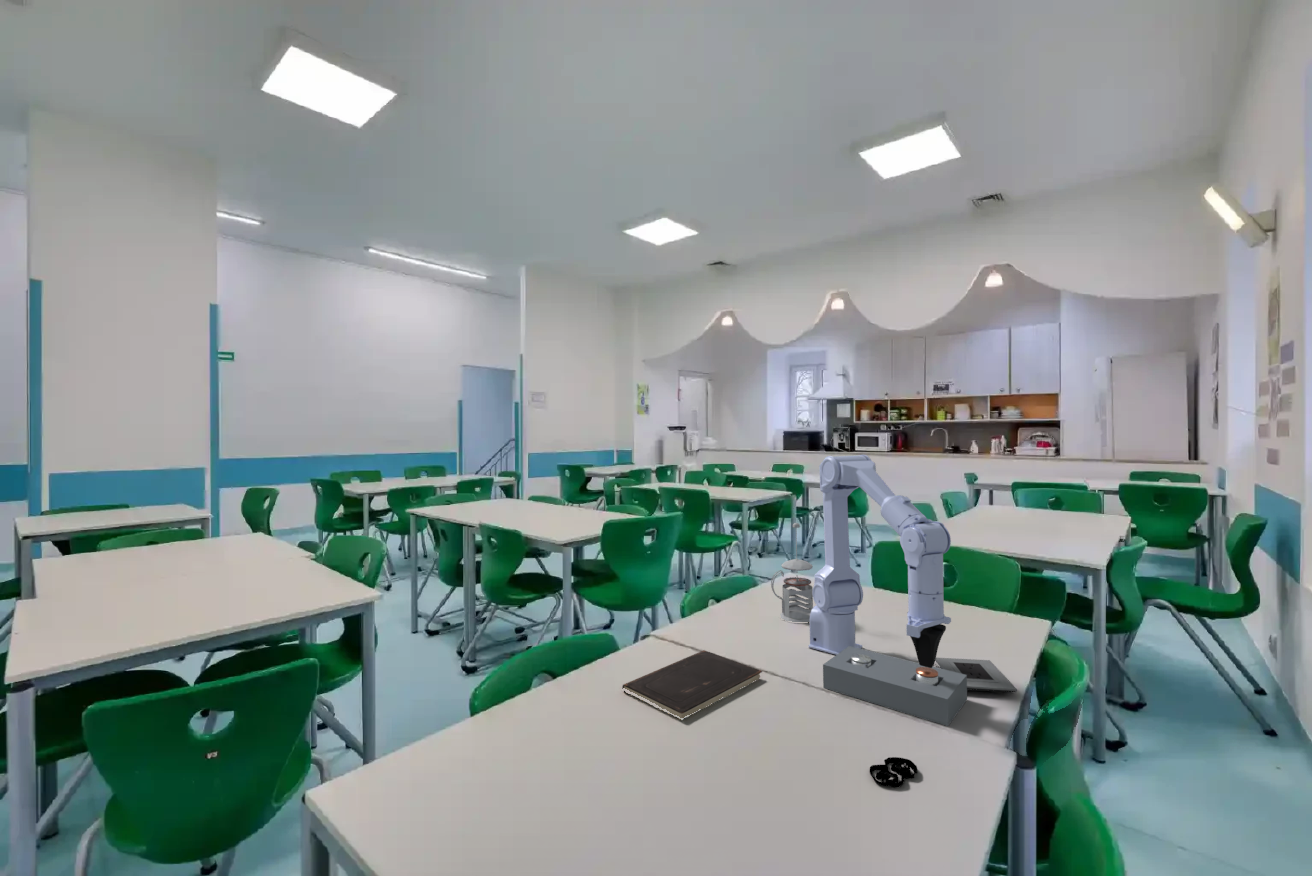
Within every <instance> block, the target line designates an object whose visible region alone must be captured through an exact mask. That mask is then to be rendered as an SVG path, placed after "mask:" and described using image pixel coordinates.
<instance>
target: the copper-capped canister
mask: <svg viewBox="0 0 1312 876" xmlns="http://www.w3.org/2000/svg"><path fill="white" fill-rule="evenodd" d="M916 681H918V682H922V683H926V684H929V685H933V686H937V685H938V672H937V671H936V670H935V669H932V668H928V667H918V668H916Z"/></svg>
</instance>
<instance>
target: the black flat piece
mask: <svg viewBox="0 0 1312 876" xmlns="http://www.w3.org/2000/svg"><path fill="white" fill-rule="evenodd" d="M883 761H884V764H873V765H871V766H870V767H869V774H870V776H871V778H872V779H873V780H874V781H875V783H876V784H877V785H879V786H881V787H882V786H883V787H891V788H901V787H902V785H903V784H904V783H905V780H906V779H907V780H909V779H911V780H912V779H914V778H915V775H916V774H918V766H917V764H915V763H914V762H913V761H912V760H911V759H908V758H904V757H897V756H895V757H894V756H892V757H887V758H885V759H884V760H883ZM888 765H890V768H889V766H888ZM911 770H912V771H911ZM873 772H875V776H874V774H873ZM912 772H913V773H912ZM899 776H900V777H901V778H900V777H899ZM892 777H893V778H892ZM891 778H892V779H891ZM899 778H900V781H899ZM880 780H881V781H880Z"/></svg>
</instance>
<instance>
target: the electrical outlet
mask: <svg viewBox="0 0 1312 876" xmlns="http://www.w3.org/2000/svg"><path fill="white" fill-rule="evenodd" d="M935 663H937V665H938V666H939V668H941V669H945V670H949V671H953V672H957V673H961V674H965V675H967V691H976V692H978V691H979V692H994V693H1010V694H1012V693H1016V692H1017V691H1018V689H1017V687H1016V686H1015V685H1014V684H1013V683H1012V682H1011V681H1010V679H1008V678H1007V677H1006V676H1005V675H1004V674H1003V672H1002V671H1000V669H999V668H998V667H997V666H996V665H995V664H994V663H993V662H992V661H991V660H990V659H973V658H972V659H971V658H954V657H953V658H952V657H951V658H950V657H936V659H935Z"/></svg>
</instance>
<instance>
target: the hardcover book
mask: <svg viewBox="0 0 1312 876" xmlns="http://www.w3.org/2000/svg"><path fill="white" fill-rule="evenodd" d="M761 673H763V670H761V669H759V668H756V667H752V666H750V665H747V664H744V663H741V662H739V661H735V660H733V659H730V658H727V657H724V656H721V655H718V654H716V653H712V652H711V651H707V650H705V649H704V650H701V651H699V652H695V653H694V654H692V655H690V656H687V657H685V658H683V659H680V660H678V661H675V662H673V663H671V664H668V665H666V666H663V667H661V668H659V669H657V670H654V671H652V672H650V673H648V674H645V675H643V676H640V677H638V678H636V679H633V680H631V681H628V682H626V683H624V684H622V687H621V688H622V689H623V688H625V689H627V690H629V691H630V692H633V693H635V694H637V695H638V696H641V697H643V698H645V699H647V700H649V701H650V702H652V703H655V704H656V705H658V706H659V707H661V708H662V709H666V710H667V711H669V712H670V713H672V714H674V715H677V716H679V717H680V718H684V717H685V716H687V715H690V714H692V713H694V712H696V711H698V710H699V709H703V708H705V707H706V706H708V705H710V704H711V703H714V702H716V701H718V700H719V699H721V698H722V697H725V698H727V697H729V696H730V695H729V694H731V693H733V692H735V693H737V692H738V691H737V690H739V689H740V688H742V687H744V686H746V687H747V685H748V684H750V683H752V682H753V681H755V680H757V681H759V680H760V679H759V678H761V675H760V674H761ZM758 679H759V680H758ZM755 682H756V681H755ZM752 684H753V683H752ZM750 685H751V684H750ZM748 686H749V685H748ZM744 688H745V687H744ZM742 689H743V688H742ZM740 690H741V689H740ZM740 690H739V691H740ZM736 691H737V692H736ZM733 694H734V693H733ZM728 695H729V696H728ZM731 695H732V694H731ZM726 696H727V697H726ZM718 702H719V701H718ZM716 703H717V702H716ZM714 704H715V703H714ZM710 706H711V705H710ZM708 707H709V706H708ZM705 709H706V708H705ZM703 710H704V709H703Z"/></svg>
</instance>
